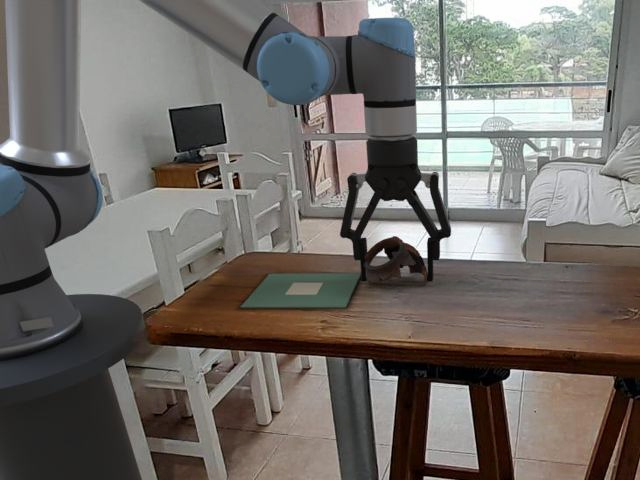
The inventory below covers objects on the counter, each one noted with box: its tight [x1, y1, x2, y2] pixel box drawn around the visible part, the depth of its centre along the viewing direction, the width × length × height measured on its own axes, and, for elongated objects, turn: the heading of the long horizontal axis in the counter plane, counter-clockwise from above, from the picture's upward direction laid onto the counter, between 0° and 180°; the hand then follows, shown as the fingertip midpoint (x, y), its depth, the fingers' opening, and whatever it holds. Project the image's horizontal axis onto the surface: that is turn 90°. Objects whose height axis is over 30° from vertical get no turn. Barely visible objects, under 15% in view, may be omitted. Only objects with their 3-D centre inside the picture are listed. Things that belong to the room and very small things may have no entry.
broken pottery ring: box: [364, 235, 429, 285], centre depth 92 cm, size 12×10×8 cm
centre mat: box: [240, 272, 361, 310], centre depth 92 cm, size 16×14×1 cm
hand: (397, 278), depth 93 cm, fingers closed on broken pottery ring, 10 cm apart
